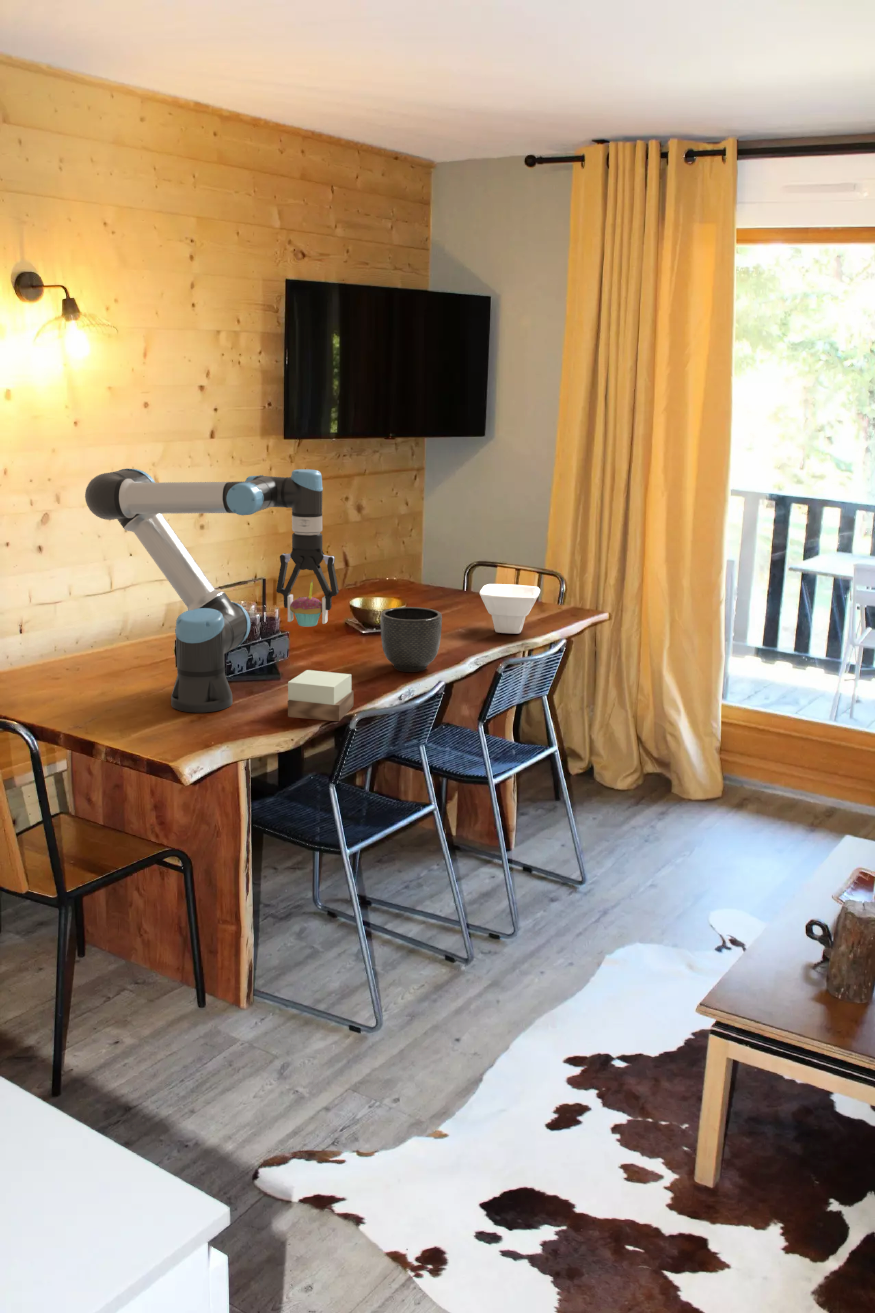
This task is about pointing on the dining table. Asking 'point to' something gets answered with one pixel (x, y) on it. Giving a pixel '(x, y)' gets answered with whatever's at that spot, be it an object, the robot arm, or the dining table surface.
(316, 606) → the cupcake
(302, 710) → the tower base block
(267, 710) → the dining table surface
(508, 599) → the bowl
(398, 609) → the planter
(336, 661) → the dining table surface
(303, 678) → the tower top block
